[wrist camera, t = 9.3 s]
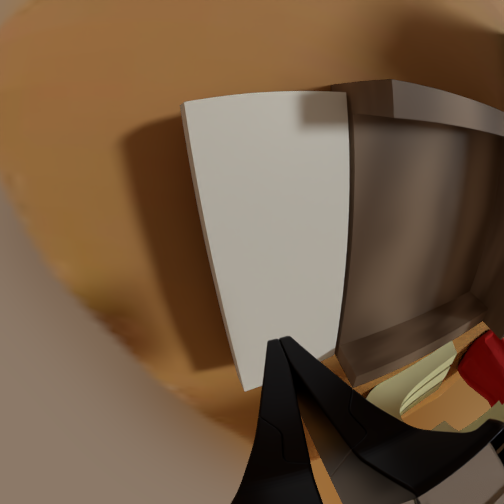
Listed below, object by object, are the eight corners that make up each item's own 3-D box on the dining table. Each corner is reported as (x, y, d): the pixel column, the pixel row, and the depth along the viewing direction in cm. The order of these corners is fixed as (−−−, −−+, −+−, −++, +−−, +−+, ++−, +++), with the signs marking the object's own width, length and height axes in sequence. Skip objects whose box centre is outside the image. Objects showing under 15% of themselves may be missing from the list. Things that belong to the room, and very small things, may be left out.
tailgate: (346, 92, 10) (183, 102, 8) (334, 354, 18) (244, 391, 17) (326, 93, 11) (180, 105, 9) (323, 342, 20) (237, 375, 18)
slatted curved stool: (354, 360, 23) (434, 514, 8) (467, 295, 23) (555, 396, 8) (349, 441, 38) (381, 514, 23) (421, 403, 39) (459, 467, 23)
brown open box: (491, 114, 13) (565, 139, 6) (461, 288, 22) (507, 333, 15) (331, 84, 11) (453, 80, 5) (327, 339, 20) (370, 421, 14)
